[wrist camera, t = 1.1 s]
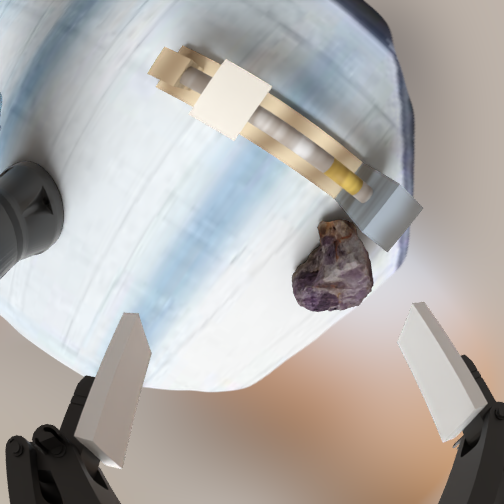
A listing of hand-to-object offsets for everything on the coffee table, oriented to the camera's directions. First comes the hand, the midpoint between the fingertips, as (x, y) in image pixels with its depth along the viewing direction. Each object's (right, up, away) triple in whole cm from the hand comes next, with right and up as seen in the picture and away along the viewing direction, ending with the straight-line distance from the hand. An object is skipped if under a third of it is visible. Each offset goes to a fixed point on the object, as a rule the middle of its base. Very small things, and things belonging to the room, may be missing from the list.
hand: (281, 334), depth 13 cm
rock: (+10, +3, +28) cm, 29 cm away
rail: (+2, +18, +19) cm, 27 cm away
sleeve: (-3, +19, +14) cm, 24 cm away
